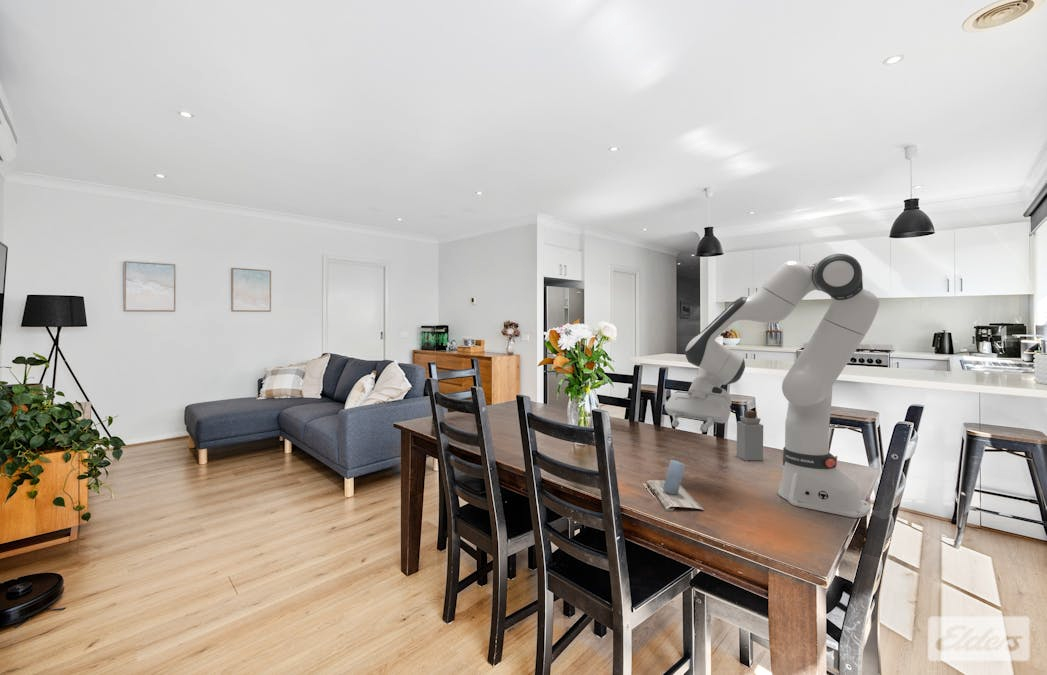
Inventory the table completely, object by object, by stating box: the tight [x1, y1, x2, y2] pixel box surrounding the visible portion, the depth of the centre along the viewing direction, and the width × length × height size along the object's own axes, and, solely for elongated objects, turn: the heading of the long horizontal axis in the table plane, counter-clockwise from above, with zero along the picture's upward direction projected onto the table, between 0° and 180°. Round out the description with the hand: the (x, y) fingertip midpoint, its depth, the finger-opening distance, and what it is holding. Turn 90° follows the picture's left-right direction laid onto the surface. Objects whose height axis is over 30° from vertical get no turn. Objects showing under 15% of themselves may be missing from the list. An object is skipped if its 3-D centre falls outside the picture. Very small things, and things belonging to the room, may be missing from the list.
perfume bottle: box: [736, 410, 764, 462], centre depth 175 cm, size 7×7×18 cm
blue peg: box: [663, 459, 686, 495], centre depth 138 cm, size 4×4×9 cm
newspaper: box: [642, 479, 705, 512], centre depth 138 cm, size 23×12×2 cm, turn 179°
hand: (688, 428), depth 144 cm, fingers open, 8 cm apart
